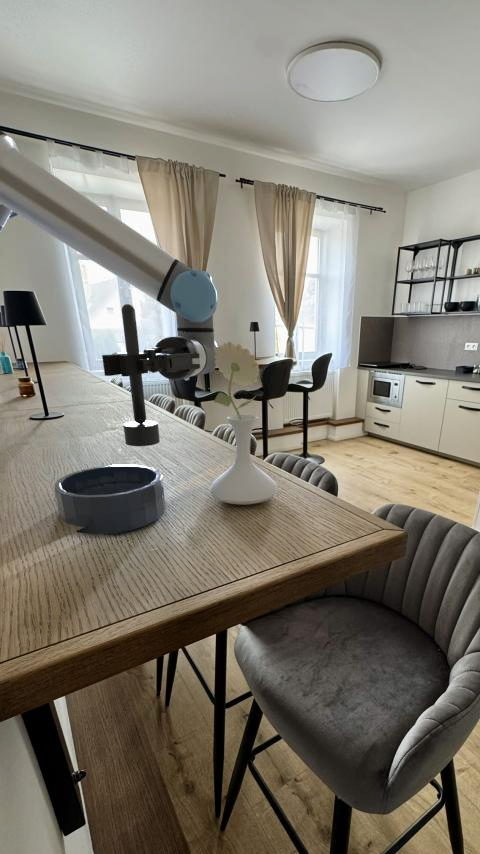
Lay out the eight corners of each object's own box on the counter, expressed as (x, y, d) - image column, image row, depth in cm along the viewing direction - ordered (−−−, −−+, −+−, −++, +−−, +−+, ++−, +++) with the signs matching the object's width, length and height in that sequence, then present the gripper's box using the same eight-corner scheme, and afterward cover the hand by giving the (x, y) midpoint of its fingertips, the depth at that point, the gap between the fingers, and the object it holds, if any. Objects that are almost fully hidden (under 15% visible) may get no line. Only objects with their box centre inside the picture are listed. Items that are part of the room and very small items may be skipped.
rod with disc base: (118, 443, 64) (99, 303, 57) (142, 437, 69) (127, 305, 61) (143, 447, 62) (127, 302, 55) (166, 440, 67) (154, 305, 59)
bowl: (39, 524, 59) (30, 485, 57) (117, 493, 72) (112, 460, 69) (113, 547, 54) (106, 504, 51) (184, 508, 66) (181, 472, 63)
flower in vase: (291, 500, 70) (294, 342, 60) (234, 517, 63) (229, 342, 54) (246, 480, 79) (244, 341, 70) (193, 493, 72) (182, 340, 63)
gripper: (218, 379, 78) (168, 395, 56) (144, 377, 80) (69, 392, 58) (216, 337, 75) (163, 337, 54) (140, 335, 77) (59, 335, 56)
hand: (114, 365), depth 56 cm, fingers closed on rod with disc base, 2 cm apart
